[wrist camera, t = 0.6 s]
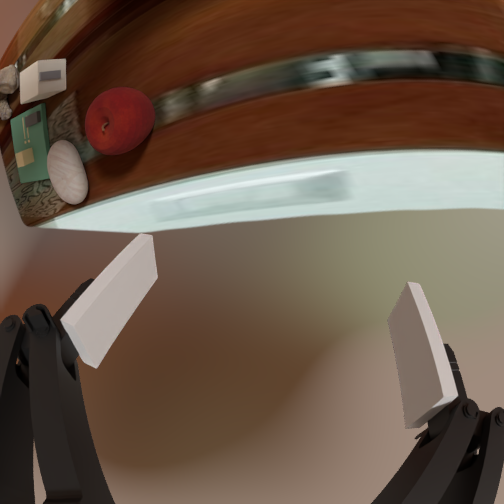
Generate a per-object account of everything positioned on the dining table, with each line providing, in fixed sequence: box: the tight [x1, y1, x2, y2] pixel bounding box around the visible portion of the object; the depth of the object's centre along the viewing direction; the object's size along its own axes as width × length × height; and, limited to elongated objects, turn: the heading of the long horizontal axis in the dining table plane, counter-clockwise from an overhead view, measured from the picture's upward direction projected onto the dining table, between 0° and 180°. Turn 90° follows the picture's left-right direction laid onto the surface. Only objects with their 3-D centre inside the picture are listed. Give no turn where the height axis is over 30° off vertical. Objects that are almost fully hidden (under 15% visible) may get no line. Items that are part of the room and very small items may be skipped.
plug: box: [20, 59, 66, 104], centre depth 29 cm, size 6×7×7 cm
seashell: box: [0, 65, 20, 120], centre depth 30 cm, size 14×10×10 cm
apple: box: [85, 87, 155, 155], centre depth 31 cm, size 10×10×10 cm
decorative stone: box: [47, 140, 88, 204], centre depth 40 cm, size 13×9×5 cm
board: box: [11, 103, 50, 183], centre depth 38 cm, size 16×14×4 cm
